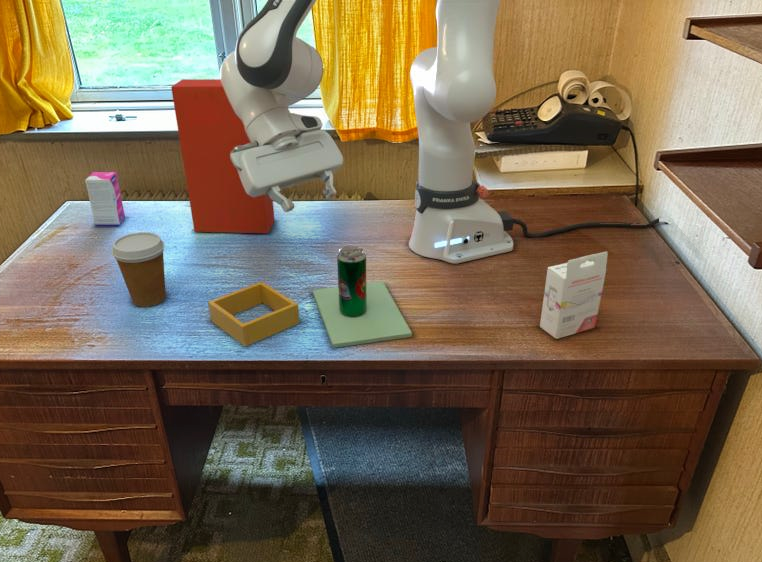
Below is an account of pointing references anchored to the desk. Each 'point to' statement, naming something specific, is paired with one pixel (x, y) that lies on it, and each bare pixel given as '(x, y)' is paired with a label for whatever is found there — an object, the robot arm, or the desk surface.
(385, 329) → the green mat
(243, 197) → the file binder
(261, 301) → the frame
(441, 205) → the robot arm
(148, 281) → the disposable coffee cup
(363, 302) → the soda can
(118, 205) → the supplement box
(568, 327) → the ink cartridge box
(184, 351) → the desk surface
